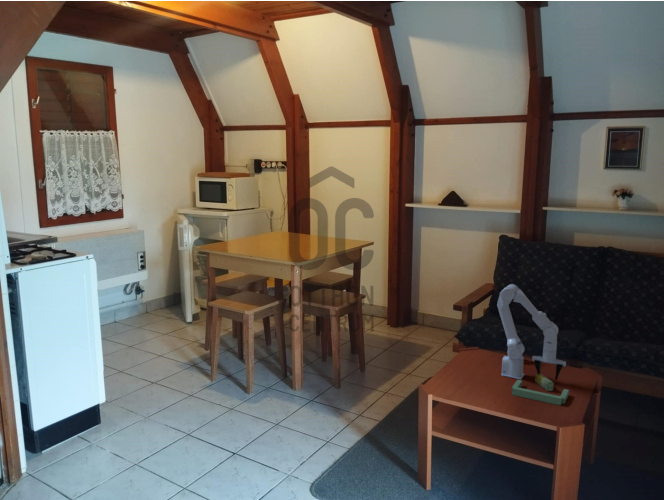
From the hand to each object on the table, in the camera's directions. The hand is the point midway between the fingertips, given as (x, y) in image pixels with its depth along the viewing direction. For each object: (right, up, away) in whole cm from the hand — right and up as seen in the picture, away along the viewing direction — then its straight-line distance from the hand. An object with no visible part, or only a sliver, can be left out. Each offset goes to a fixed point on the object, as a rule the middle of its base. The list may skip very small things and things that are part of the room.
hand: (547, 377), depth 259 cm
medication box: (-4, -3, -5) cm, 7 cm away
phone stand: (-6, +2, +29) cm, 29 cm away
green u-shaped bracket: (-10, -4, -15) cm, 18 cm away
